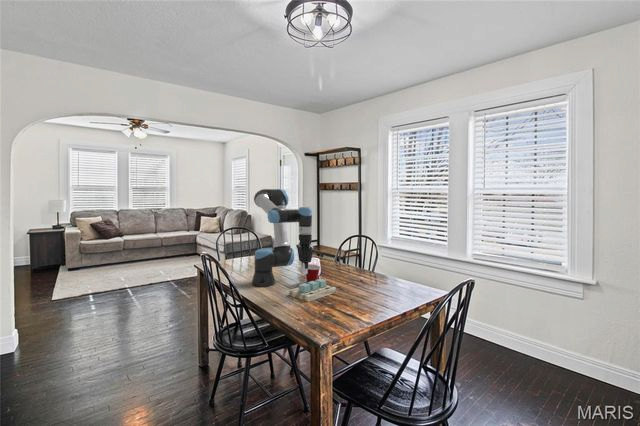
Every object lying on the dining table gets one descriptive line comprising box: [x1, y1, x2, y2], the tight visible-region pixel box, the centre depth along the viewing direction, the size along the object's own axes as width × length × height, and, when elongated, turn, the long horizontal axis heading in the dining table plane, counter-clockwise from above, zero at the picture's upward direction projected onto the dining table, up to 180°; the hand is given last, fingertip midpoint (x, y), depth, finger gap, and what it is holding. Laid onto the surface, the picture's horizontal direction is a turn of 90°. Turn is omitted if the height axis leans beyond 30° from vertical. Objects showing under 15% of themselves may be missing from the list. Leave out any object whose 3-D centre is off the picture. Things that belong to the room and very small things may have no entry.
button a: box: [298, 282, 310, 293], centre depth 187 cm, size 5×5×4 cm
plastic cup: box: [305, 264, 321, 283], centre depth 213 cm, size 11×11×12 cm
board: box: [288, 284, 337, 303], centre depth 192 cm, size 16×24×3 cm, turn 137°
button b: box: [306, 281, 319, 291], centre depth 192 cm, size 5×5×4 cm
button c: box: [315, 278, 327, 288], centre depth 197 cm, size 5×5×4 cm
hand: (304, 273), depth 186 cm, fingers closed
